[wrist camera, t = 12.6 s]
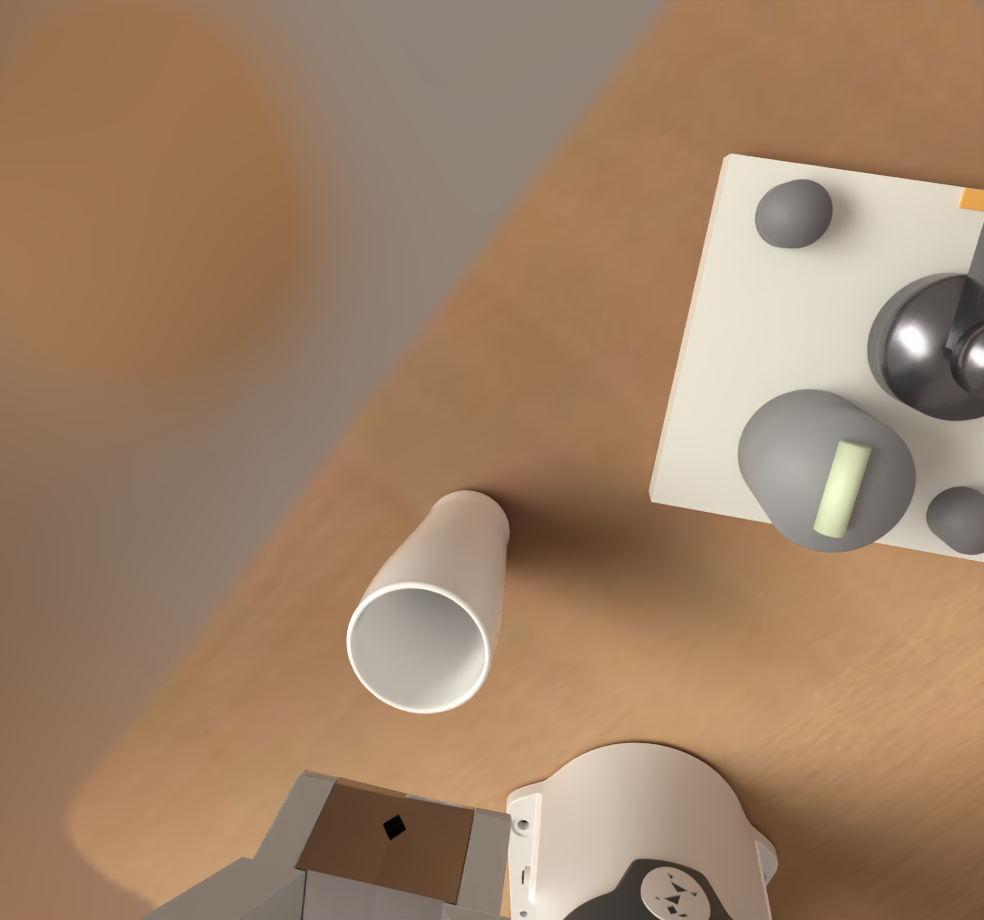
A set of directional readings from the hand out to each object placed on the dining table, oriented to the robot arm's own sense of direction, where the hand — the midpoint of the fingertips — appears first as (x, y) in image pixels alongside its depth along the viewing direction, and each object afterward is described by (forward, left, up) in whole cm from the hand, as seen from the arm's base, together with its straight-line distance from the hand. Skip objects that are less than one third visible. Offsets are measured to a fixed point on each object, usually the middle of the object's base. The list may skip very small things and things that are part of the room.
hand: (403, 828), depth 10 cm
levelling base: (+4, -17, -35) cm, 39 cm away
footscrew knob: (+8, -20, -33) cm, 39 cm away
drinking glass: (-10, +3, -35) cm, 37 cm away
